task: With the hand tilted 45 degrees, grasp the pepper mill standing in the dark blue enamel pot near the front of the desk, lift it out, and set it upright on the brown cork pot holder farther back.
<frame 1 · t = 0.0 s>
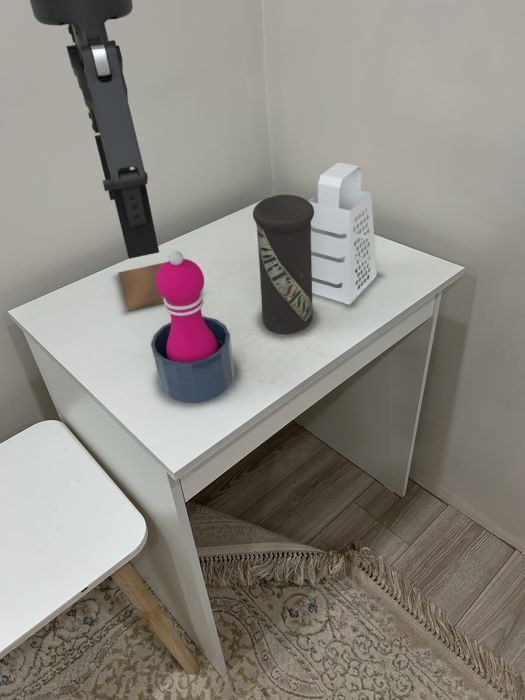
hand: (132, 222, 53), 29 cm above the table, tool pointing down, fingers open, 13 cm apart
pot: (197, 377, 79), on the table
pepper mill: (197, 375, 78), resting on pot
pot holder: (156, 285, 98), on the table
container: (287, 320, 88), on the table
grater: (336, 282, 96), on the table
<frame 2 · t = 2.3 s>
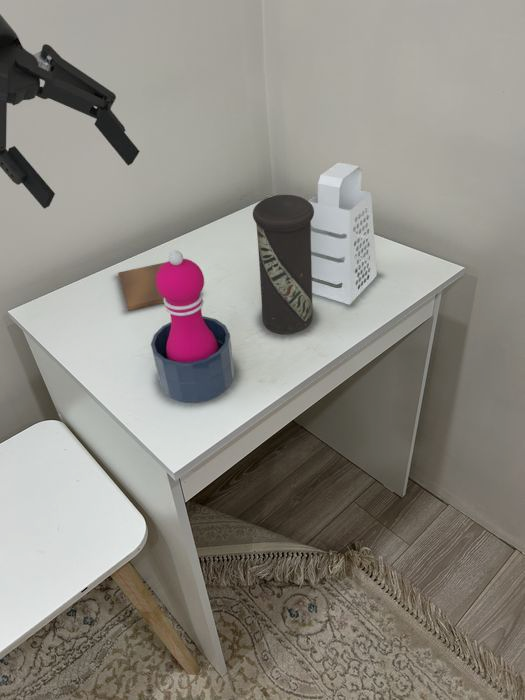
hand: (94, 179, 66), 28 cm above the table, tool tilted 45°, fingers open, 13 cm apart
nothing on the table moved.
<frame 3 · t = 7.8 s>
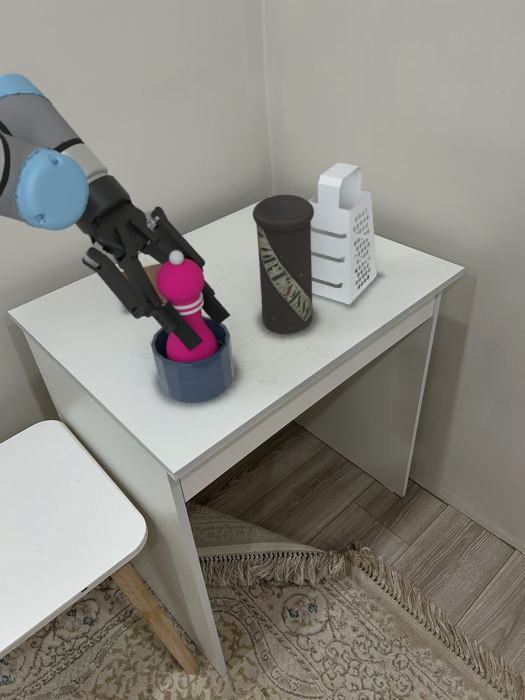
hand: (210, 332, 71), 9 cm above the table, tool tilted 45°, fingers closed on pepper mill, 5 cm apart
pepper mill: (196, 375, 78), resting on pot, touching gripper
everything else where it was.
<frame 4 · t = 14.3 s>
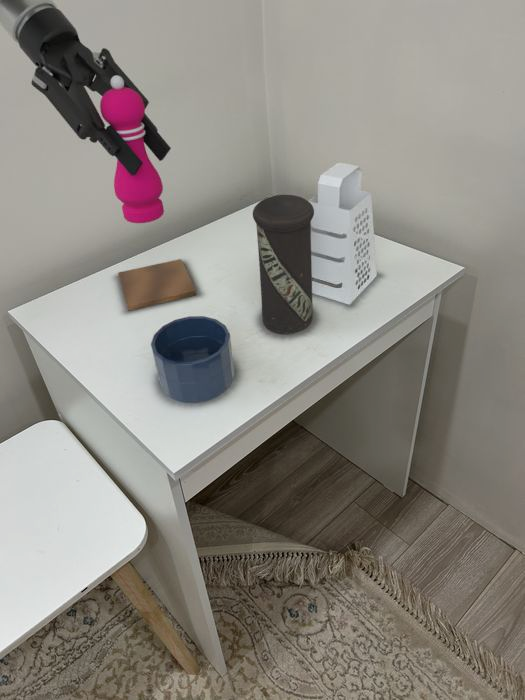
hand: (151, 161, 78), 25 cm above the table, tool tilted 45°, fingers closed on pepper mill, 5 cm apart
pepper mill: (144, 215, 86), point 15 cm above the table, touching gripper
everything else where it was.
when the fingers open (10 cm above the table, at t = 20.7 s): pepper mill moves 5 cm, point 1 cm above the table.
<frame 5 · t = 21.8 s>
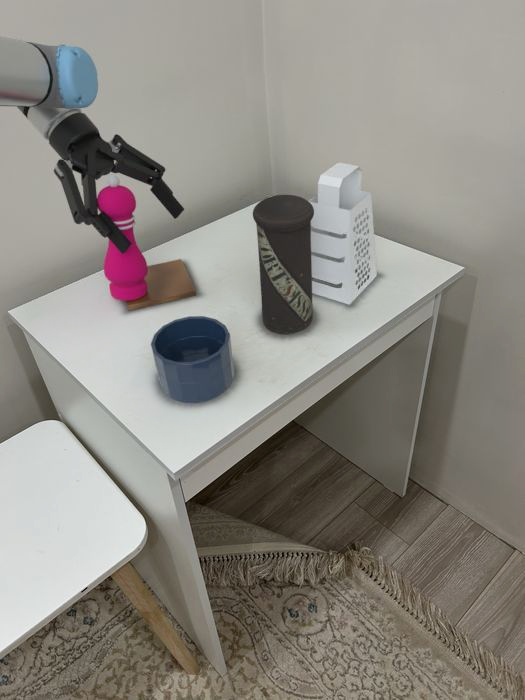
hand: (154, 230, 90), 11 cm above the table, tool tilted 45°, fingers open, 13 cm apart
pepper mill: (129, 293, 95), point 1 cm above the table, touching gripper
everything else where it was.
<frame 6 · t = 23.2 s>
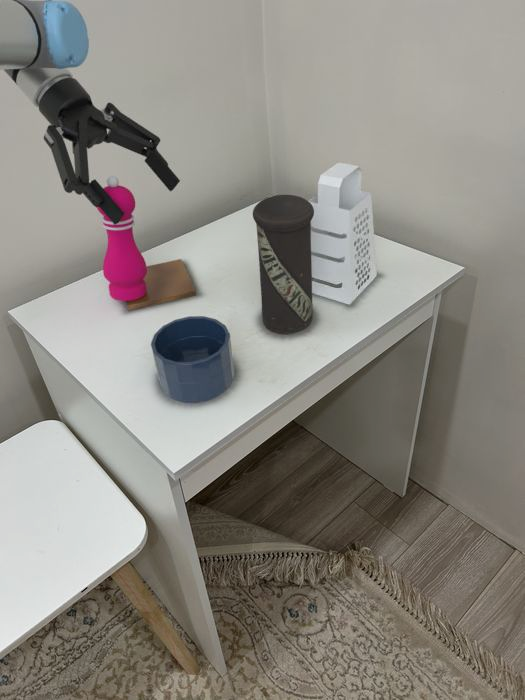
hand: (149, 202, 87), 16 cm above the table, tool tilted 45°, fingers open, 13 cm apart
pepper mill: (128, 294, 95), point 1 cm above the table, touching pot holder
everything else where it was.
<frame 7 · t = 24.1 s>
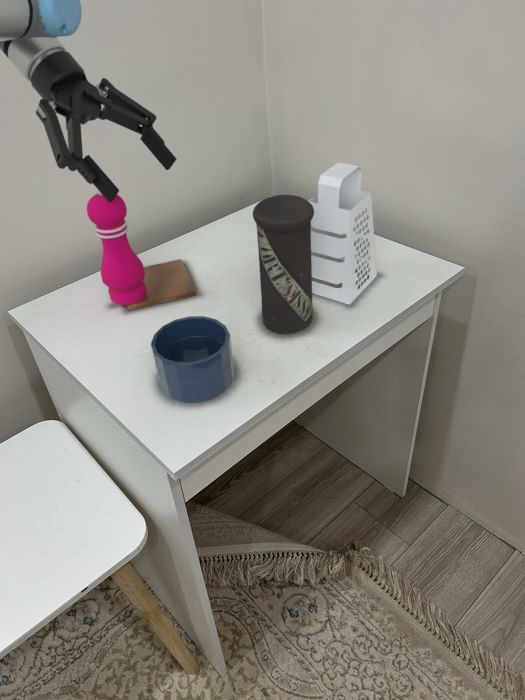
hand: (144, 180, 85), 20 cm above the table, tool tilted 45°, fingers open, 13 cm apart
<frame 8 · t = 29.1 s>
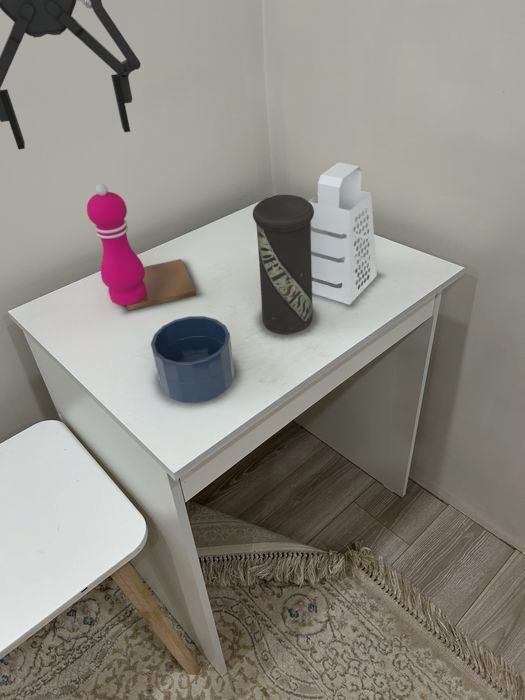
hand: (75, 137, 72), 30 cm above the table, tool pointing down, fingers open, 13 cm apart
at the end: pepper mill inside the target area on the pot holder (5.9 cm from its centre), point 0.8 cm above the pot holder's base; pepper mill tilted 0°; the gripper is holding nothing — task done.
